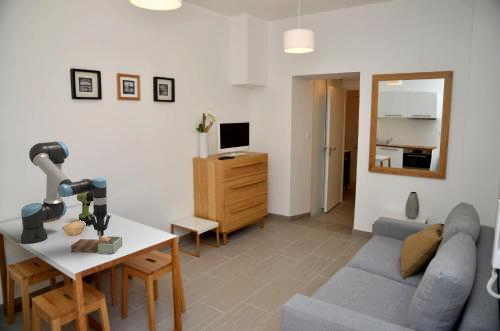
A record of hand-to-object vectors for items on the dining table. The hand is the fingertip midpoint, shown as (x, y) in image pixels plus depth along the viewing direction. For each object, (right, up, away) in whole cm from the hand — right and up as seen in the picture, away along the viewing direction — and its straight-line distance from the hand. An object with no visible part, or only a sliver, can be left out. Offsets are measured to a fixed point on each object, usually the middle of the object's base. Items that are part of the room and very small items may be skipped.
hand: (100, 240), depth 220 cm
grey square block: (+6, -1, 0) cm, 6 cm away
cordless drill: (-27, +2, +46) cm, 54 cm away
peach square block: (+3, -2, 0) cm, 3 cm away
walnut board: (-8, -5, +1) cm, 9 cm away
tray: (+6, -6, +1) cm, 8 cm away
